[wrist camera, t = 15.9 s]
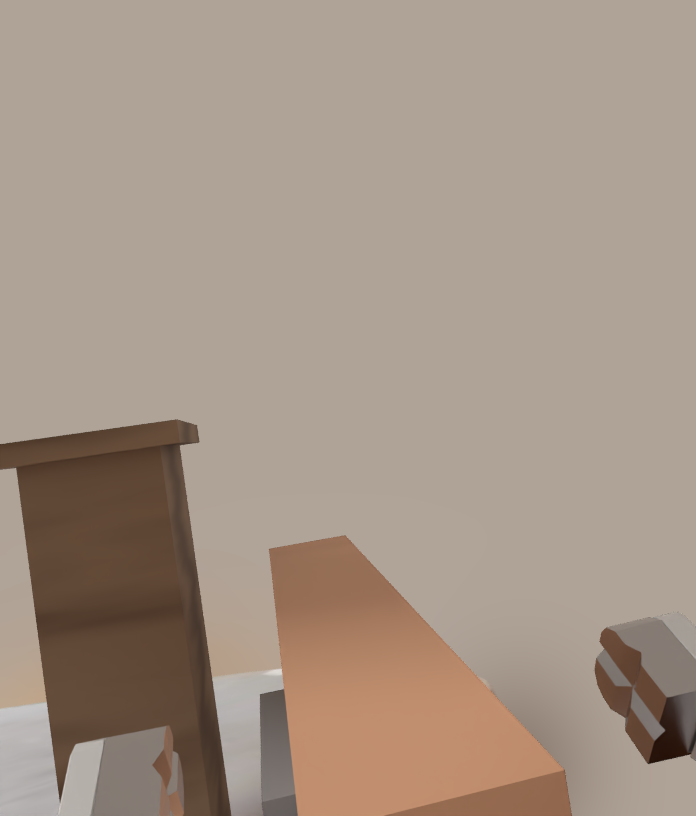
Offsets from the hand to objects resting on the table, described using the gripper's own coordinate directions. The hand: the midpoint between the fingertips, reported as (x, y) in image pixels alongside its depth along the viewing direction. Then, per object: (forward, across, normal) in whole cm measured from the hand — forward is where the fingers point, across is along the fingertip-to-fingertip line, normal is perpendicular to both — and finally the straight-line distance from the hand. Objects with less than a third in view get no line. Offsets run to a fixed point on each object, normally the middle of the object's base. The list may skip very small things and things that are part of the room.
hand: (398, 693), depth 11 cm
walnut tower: (+8, +9, +27) cm, 30 cm away
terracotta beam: (+6, 0, +8) cm, 10 cm away
